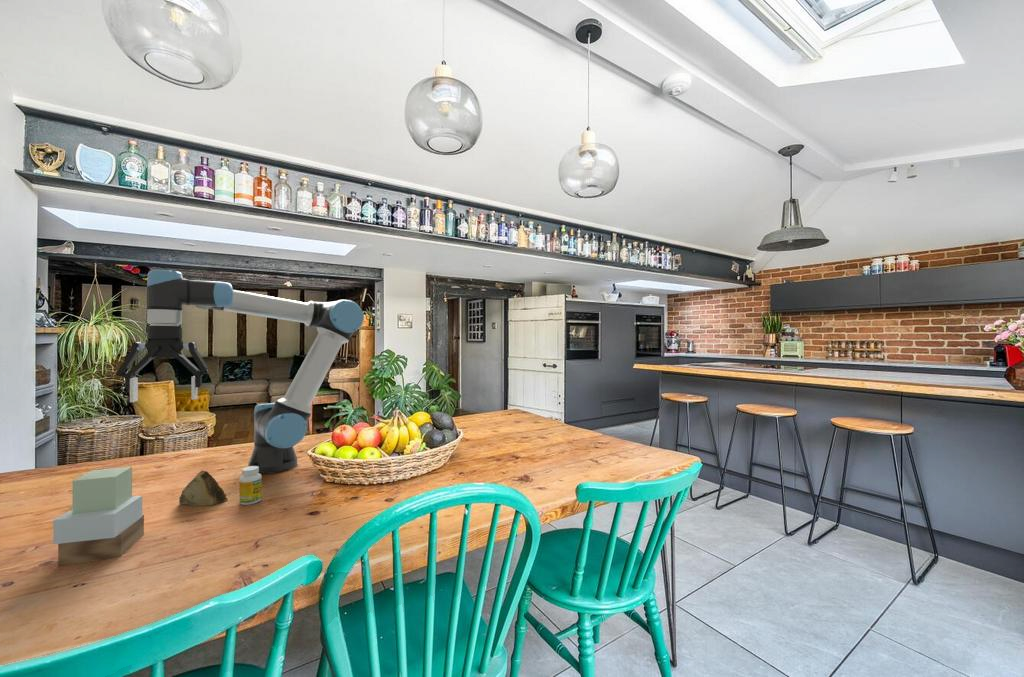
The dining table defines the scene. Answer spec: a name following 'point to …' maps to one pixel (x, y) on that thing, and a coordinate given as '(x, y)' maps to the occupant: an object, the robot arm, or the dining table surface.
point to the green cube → (102, 490)
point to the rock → (202, 491)
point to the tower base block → (100, 546)
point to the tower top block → (96, 523)
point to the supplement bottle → (250, 486)
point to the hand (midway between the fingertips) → (164, 400)
